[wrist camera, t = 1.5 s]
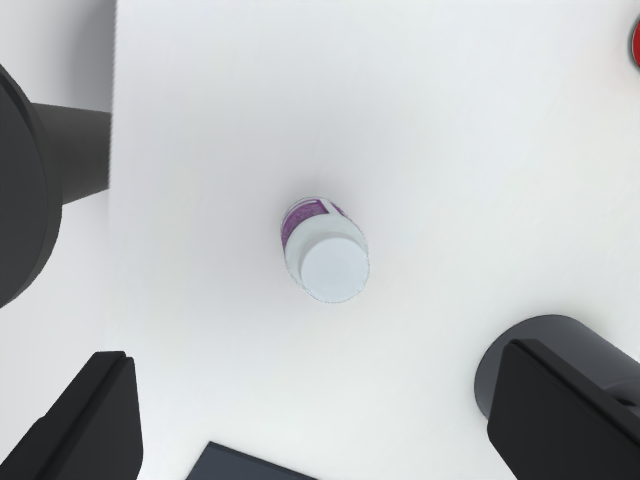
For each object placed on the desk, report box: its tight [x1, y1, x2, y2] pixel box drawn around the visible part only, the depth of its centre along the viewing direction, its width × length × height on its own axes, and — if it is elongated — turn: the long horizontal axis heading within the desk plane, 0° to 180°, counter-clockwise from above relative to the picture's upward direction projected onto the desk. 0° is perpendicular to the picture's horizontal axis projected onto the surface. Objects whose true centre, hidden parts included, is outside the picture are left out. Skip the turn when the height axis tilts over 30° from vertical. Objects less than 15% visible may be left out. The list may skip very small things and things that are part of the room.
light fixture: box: [475, 315, 640, 420], centre depth 30 cm, size 13×16×14 cm
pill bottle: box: [281, 197, 369, 303], centre depth 25 cm, size 5×5×10 cm
